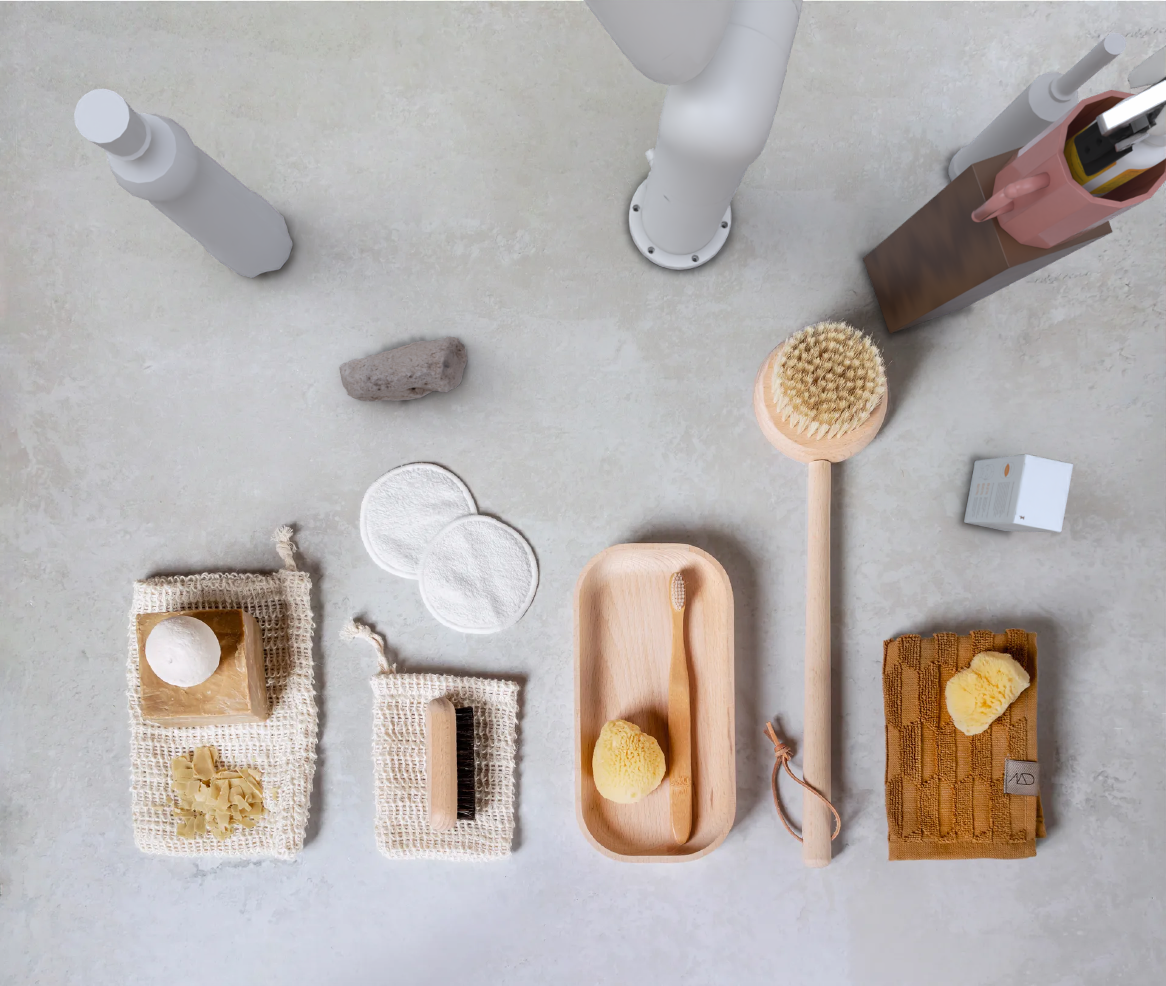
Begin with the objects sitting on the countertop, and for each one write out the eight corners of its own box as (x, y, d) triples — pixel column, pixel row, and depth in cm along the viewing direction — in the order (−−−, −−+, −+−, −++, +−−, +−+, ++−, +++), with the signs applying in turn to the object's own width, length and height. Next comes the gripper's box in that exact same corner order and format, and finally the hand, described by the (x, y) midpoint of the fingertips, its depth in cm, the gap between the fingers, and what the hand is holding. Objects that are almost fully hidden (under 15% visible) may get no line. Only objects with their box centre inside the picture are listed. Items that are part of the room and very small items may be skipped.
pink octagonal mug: (943, 179, 65) (1001, 127, 56) (1072, 134, 65) (1151, 75, 56) (976, 273, 65) (1040, 236, 56) (1106, 228, 65) (1190, 184, 56)
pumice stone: (466, 337, 90) (452, 316, 80) (471, 398, 90) (458, 385, 80) (344, 348, 90) (315, 329, 80) (349, 409, 90) (321, 397, 80)
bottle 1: (284, 199, 90) (137, 46, 60) (307, 268, 90) (171, 150, 60) (214, 222, 90) (31, 80, 60) (237, 291, 90) (65, 185, 60)
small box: (1005, 531, 90) (1062, 535, 79) (961, 522, 90) (1012, 524, 79) (1018, 468, 90) (1076, 463, 79) (973, 459, 90) (1026, 453, 79)
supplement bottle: (1120, 157, 60) (1225, 91, 51) (1093, 215, 60) (1194, 160, 51) (1061, 129, 60) (1156, 58, 51) (1035, 187, 60) (1125, 127, 50)
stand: (862, 258, 90) (971, 163, 65) (938, 232, 90) (1075, 127, 65) (889, 333, 90) (1009, 268, 65) (965, 307, 90) (1113, 231, 65)
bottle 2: (995, 164, 90) (1154, 34, 66) (973, 199, 90) (1124, 82, 65) (960, 142, 91) (1105, 4, 66) (938, 177, 90) (1075, 51, 65)
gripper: (1512, -150, 38) (1207, 62, 56) (1206, -45, 37) (999, 134, 56) (1562, -14, 38) (1240, 154, 56) (1255, 91, 37) (1032, 226, 55)
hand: (1122, 143), depth 55 cm, fingers closed on supplement bottle, 5 cm apart
